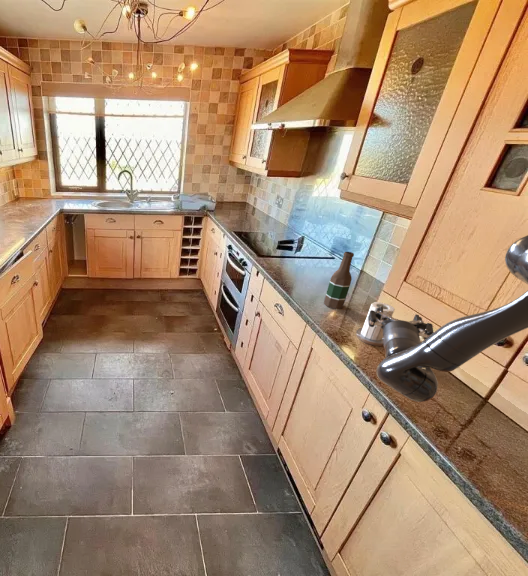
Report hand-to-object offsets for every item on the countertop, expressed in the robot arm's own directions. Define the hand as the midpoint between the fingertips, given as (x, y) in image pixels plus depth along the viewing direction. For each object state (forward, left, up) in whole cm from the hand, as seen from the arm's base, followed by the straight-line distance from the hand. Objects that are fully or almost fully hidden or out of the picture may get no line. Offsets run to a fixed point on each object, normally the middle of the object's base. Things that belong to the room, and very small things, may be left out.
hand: (397, 313), depth 92 cm
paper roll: (0, -13, -17) cm, 21 cm away
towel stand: (0, -13, -18) cm, 22 cm away
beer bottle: (+10, -35, -18) cm, 41 cm away
